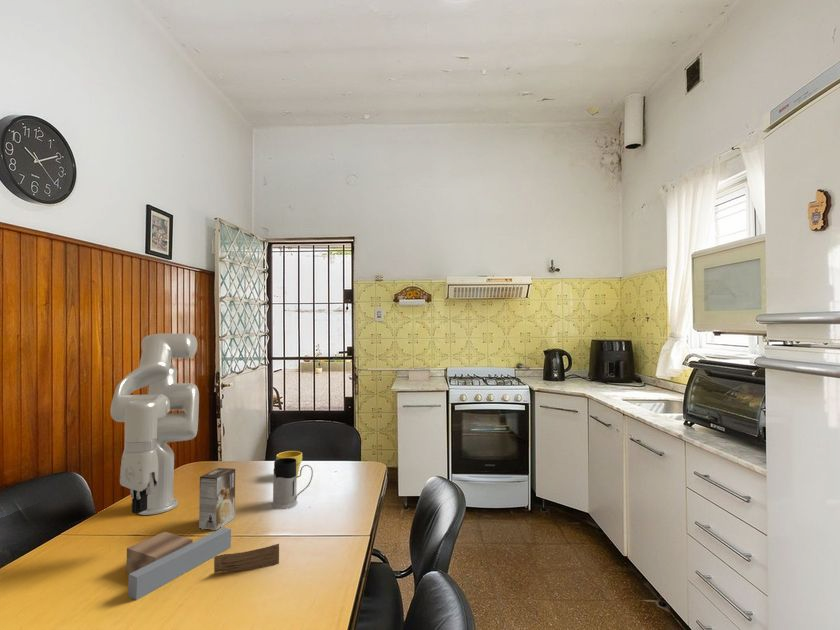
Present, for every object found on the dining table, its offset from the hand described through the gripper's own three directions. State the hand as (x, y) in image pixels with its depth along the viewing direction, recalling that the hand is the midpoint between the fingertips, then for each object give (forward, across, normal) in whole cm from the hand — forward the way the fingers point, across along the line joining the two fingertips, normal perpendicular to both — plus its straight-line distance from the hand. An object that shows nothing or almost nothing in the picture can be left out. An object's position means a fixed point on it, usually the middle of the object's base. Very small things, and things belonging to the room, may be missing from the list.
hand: (139, 511), depth 118 cm
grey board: (+10, +20, -1) cm, 23 cm away
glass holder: (+12, +17, +43) cm, 47 cm away
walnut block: (+10, +13, -3) cm, 17 cm away
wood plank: (+10, +34, +6) cm, 36 cm away
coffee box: (+12, +6, +21) cm, 24 cm away
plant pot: (+14, -3, +64) cm, 65 cm away
